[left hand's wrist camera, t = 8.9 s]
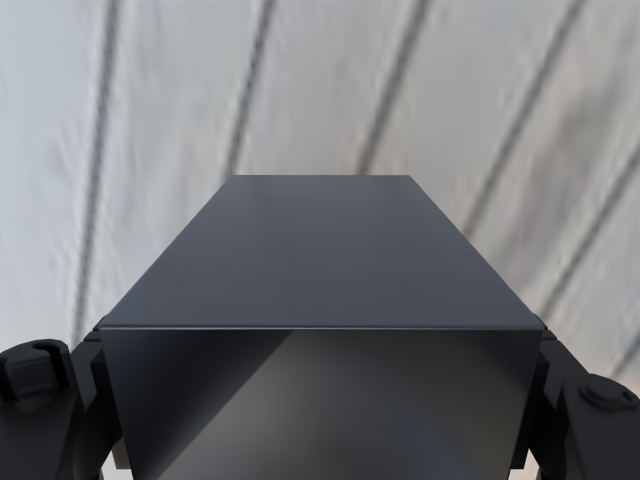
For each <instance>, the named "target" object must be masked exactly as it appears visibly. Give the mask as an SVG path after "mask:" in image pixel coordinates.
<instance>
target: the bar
mask: <svg viewBox="0 0 640 480" xmlns="http://www.w3.org/2000/svg"><path fill="white" fill-rule="evenodd" d="M98 330H99V335H100V339H101V343H102V347H103V352H104V356H105V360H106V365H107V369H108V373H109V377H110V382H111V386H112V390H113V394H114V399H115V403H116V407H117V412H118V416H119V420H120V424H121V429H122V433H123V437H124V441H125V446H126V450H127V454H128V459H129V463H130V467H131V471H132V476H133V480H508V478H509V474H510V470H511V466H512V462H513V458H514V454H515V449H516V445H517V441H518V437H519V433H520V429H521V425H522V421H523V416H524V412H525V408H526V404H527V400H528V396H529V392H530V387H531V383H532V379H533V375H534V371H535V367H536V363H537V358H538V354H539V350H540V346H541V342H542V338H543V334H544V326H543V324H542V323H541V322H540V321H539V320H538V319H537V318H536V316H535V315H534V314H533V313H532V312H531V311H530V310H529V309H528V307H527V306H526V305H525V304H524V303H523V302H522V301H521V300H520V298H519V297H518V296H517V295H516V294H515V293H514V292H513V291H512V290H511V288H510V287H509V286H508V285H507V284H506V283H505V282H504V281H503V279H502V278H501V277H500V276H499V275H498V274H497V273H496V272H495V270H494V269H493V268H492V267H491V266H490V265H489V264H488V263H487V261H486V260H485V259H484V258H483V257H482V256H481V255H480V254H479V252H478V251H477V250H476V249H475V248H474V247H473V246H472V245H471V244H470V242H469V241H468V240H467V239H466V238H465V237H464V236H463V235H462V233H461V232H460V231H459V230H458V229H457V228H456V227H455V226H454V224H453V223H452V222H451V221H450V220H449V219H448V218H447V217H446V215H445V214H444V213H443V212H442V211H441V210H440V209H439V208H438V206H437V205H436V204H435V203H434V202H433V201H432V200H431V199H430V198H429V196H428V195H427V194H426V193H425V192H424V191H423V190H422V189H421V187H420V186H419V185H418V184H417V183H416V182H415V181H414V180H413V178H412V177H411V176H409V175H232V176H230V178H229V179H228V180H227V181H226V182H225V183H224V184H223V185H222V187H221V188H220V189H219V190H218V191H217V192H216V193H215V194H214V196H213V197H212V198H211V199H210V200H209V201H208V202H207V203H206V205H205V206H204V207H203V208H202V209H201V210H200V211H199V212H198V214H197V215H196V216H195V217H194V218H193V219H192V220H191V221H190V223H189V224H188V225H187V226H186V227H185V228H184V229H183V230H182V232H181V233H180V234H179V235H178V236H177V237H176V238H175V239H174V241H173V242H172V243H171V244H170V245H169V246H168V247H167V248H166V250H165V251H164V252H163V253H162V254H161V255H160V256H159V258H158V259H157V260H156V261H155V262H154V263H153V264H152V265H151V267H150V268H149V269H148V270H147V271H146V272H145V273H144V274H143V276H142V277H141V278H140V279H139V280H138V281H137V282H136V283H135V285H134V286H133V287H132V288H131V289H130V290H129V291H128V292H127V294H126V295H125V296H124V297H123V298H122V299H121V300H120V301H119V303H118V304H117V305H116V306H115V307H114V308H113V309H112V310H111V312H110V313H109V314H108V315H107V316H106V317H105V318H104V319H103V321H102V322H101V323H100V324H99V327H98Z"/></svg>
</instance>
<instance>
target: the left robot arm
mask: <svg viewBox="0 0 640 480" xmlns="http://www.w3.org/2000/svg"><path fill="white" fill-rule="evenodd" d="M533 314H534V313H533ZM107 315H108V314H107ZM107 315H106V316H107ZM534 315H535V314H534ZM106 316H104V317H103V318H102V319H101V320H100V321H99V322H98V324H97V325H96V326H95V327H94V328H93V330H92V332H89V334H88V335H87V336H86V337H85V338H84V339H83V342H80V344H79V345H78V346H77V347H76V348H75V349H74V350H73V351H72V353H71V354H70V353H69V349H68V345H66V344H65V343H64V342H62V341H61V340H54V339H42V340H34V341H30V342H26V343H23V344H19V345H17V346H14V347H12V348H10V349H8V350H5V351H3V352H2V353H0V480H104V477H103V473H102V469H101V467H102V465H103V464H104V462H105V460H106V458H107V457H108V455H109V453H110V451H111V450H112V454H113V458H114V461H115V465H116V469H131V467H130V463H129V459H128V454H127V450H126V446H125V441H124V437H123V433H122V429H121V424H120V420H119V416H118V412H117V407H116V403H115V399H114V394H113V390H112V386H111V382H110V377H109V373H108V369H107V365H106V360H105V356H104V352H103V347H102V343H101V339H100V335H99V330H98V327H99V324H100V323H101V322H102V321H103V319H104V318H105V317H106ZM535 316H536V318H537V319H538V320H539V321H540V322H541V323H542V324H543V326H544V334H543V338H542V342H541V346H540V350H539V354H538V358H537V363H536V367H535V371H534V375H533V379H532V383H531V387H530V392H529V396H528V400H527V404H526V408H525V412H524V416H523V421H522V425H521V429H520V433H519V437H518V441H517V445H516V449H515V454H514V458H513V462H512V466H511V469H524V465H525V461H526V457H527V454H528V450H529V449H530V451H531V453H532V454H533V456H534V458H535V460H536V461H537V463H538V465H539V469H538V473H537V477H536V480H640V399H639V398H638V397H637V395H635V394H634V393H633V392H631V391H630V390H629V389H627V388H626V387H625V386H623V385H621V384H619V383H617V382H615V381H613V380H611V379H609V378H606V377H602V376H599V375H596V374H589V373H588V372H587V371H586V369H585V368H584V367H583V366H582V365H581V364H580V363H579V362H578V361H577V359H576V358H575V357H574V356H573V355H572V354H571V353H570V352H569V351H568V349H567V348H566V347H565V346H564V345H563V344H562V343H561V342H560V341H559V340H557V337H556V336H555V335H554V334H553V333H552V332H551V331H550V330H548V327H547V326H546V325H545V324H544V323H543V322H542V321H541V320H540V318H539V317H538V316H537V315H535Z"/></svg>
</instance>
